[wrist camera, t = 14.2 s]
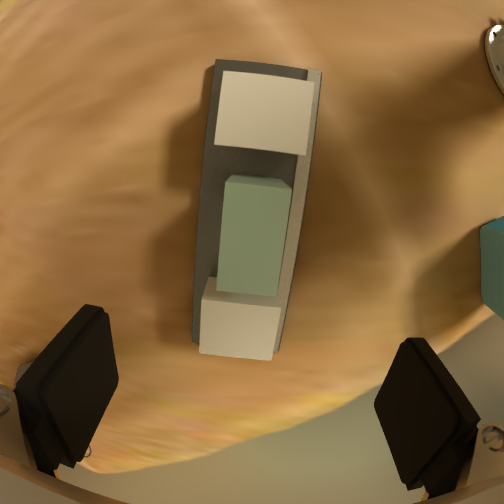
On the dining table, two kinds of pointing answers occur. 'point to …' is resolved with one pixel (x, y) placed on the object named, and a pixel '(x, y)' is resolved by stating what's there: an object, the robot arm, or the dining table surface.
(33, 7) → the dining table surface
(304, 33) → the dining table surface
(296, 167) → the rail plate
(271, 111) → the mounted modules
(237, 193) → the module block
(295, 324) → the dining table surface
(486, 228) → the data package
